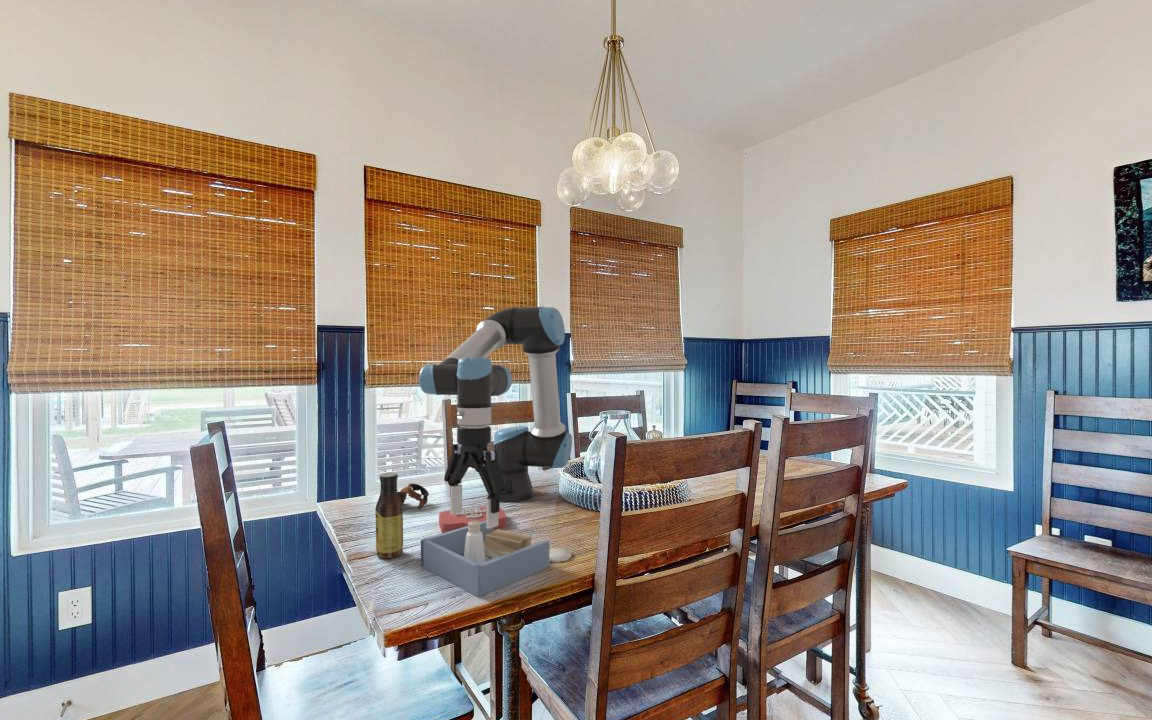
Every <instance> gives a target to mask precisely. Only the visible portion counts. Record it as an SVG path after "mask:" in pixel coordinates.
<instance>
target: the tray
mask: <svg viewBox="0 0 1152 720" xmlns="http://www.w3.org/2000/svg"><path fill="white" fill-rule="evenodd" d="M480 523H481V524H480V532H482V534H483V543H484V542H485V535H487V534H489V533H491V532H493V531H494V529H493V528H489V529H488V528H486V521H483V522H480ZM468 527H469V526H466V527H463V528H459V529H456V530H452V531H449V532H446V533H439V534H437V535H433V536H430V537H426V538H422V539H420V566H421V567H422V568H424V569H425V570H428V571H430V572H431V573H434V574H435V575H437V576H439V577H441V578H442V579H444V580H446V581H448V582H450V583H451V584H453V585H455V586H457V587H458V588H460V589H463V590H464V591H466V592H468V593H470V594H471V595H473V596H475V597H477V598H479V597H482V596H484V595H487V594H489V593H492V592H494V591H496V590H498V589H501V588H503V587H507V585H511V584H513V583H515V582H517V581H519V580H522V579H525V578H527V577H529V576H531V574H532V575H533V573H534V574H536V573H539V572H541V571H543V570H546V569H548V568H550V562H549V549H550V540H548V539H544V540H541V541H538V542H536V543H533V544H531V545H530V546H528V547H525V548H522V549H519V550H517V551H514V552H511V553H509V554H506V555H503V556H500V557H498V558H495V559H494V558H492V559H490V560H486V561H485V562H484V563H482V564H478V563H476V562H473V561H471V560H469V559H467V558H465V557H464V549H465V539H466V534H467V532H468V531H469V530H468ZM547 567H548V568H547ZM545 568H546V569H545ZM542 569H543V570H542ZM540 570H541V571H540ZM538 571H539V572H538ZM535 572H536V573H535ZM526 576H527V577H526Z"/></svg>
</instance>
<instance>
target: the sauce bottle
mask: <svg viewBox="0 0 1152 720" xmlns="http://www.w3.org/2000/svg"><path fill="white" fill-rule="evenodd" d="M379 481H380V491H379V492H380V494H379V497H378V499H377V501H376V505H375V507H374V508H375V509H374V510H375V511H374V513H375V550H376V554H377V555H376V556H377V557H378V558H380V559H394V558H397V557H399V556H400V555H402V554H403V551H404V550H403V549H404V548H403V547H404V511H403V505H402V500H401V498H400V496H399V495H398V493H397V492H398V473H397V472H393V471H392V472H385V473H381V474H380V475H379Z"/></svg>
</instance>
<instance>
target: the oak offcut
mask: <svg viewBox="0 0 1152 720" xmlns="http://www.w3.org/2000/svg"><path fill="white" fill-rule="evenodd" d="M530 545H532V536H530V535H526V534H522V533H517V532H512V531H507V530H503V529H494V530H493V532H491V533H489V534H487V535H485V547H487V548H492V549H496V550H500V551H505V552H509V553H511V552H514V551H517V550H519V549H522V548H525V547H528V546H530Z"/></svg>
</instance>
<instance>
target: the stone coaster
mask: <svg viewBox="0 0 1152 720" xmlns="http://www.w3.org/2000/svg"><path fill="white" fill-rule="evenodd" d="M572 554H573V553H572V552H571V551H570V550H569V549H565V548H557V547H556V548H549V561H552V562H551V563H561V562H560V561H564V562H566V561H565V560H567V561H569V560H570V559H569V558H571V559H572V557H573V556H572ZM571 556H572V557H571ZM568 559H569V560H568Z"/></svg>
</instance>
